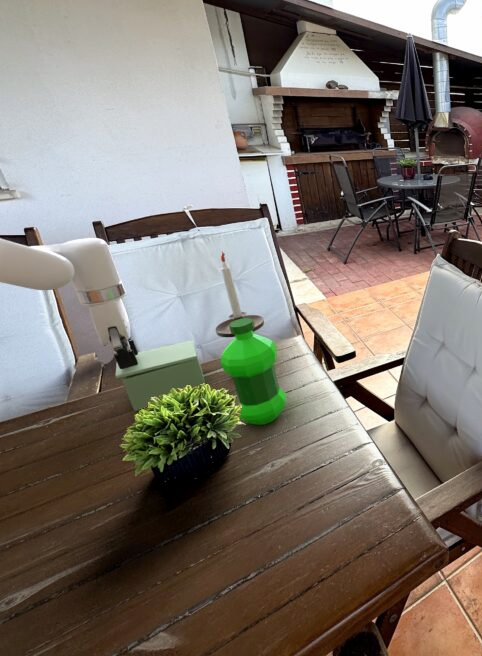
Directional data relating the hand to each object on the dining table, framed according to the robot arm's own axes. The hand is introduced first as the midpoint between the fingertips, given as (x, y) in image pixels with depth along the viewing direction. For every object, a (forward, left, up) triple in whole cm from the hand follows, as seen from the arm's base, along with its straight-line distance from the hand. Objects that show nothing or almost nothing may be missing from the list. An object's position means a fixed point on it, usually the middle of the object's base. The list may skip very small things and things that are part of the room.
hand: (129, 360), depth 96 cm
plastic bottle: (+28, -22, -11) cm, 37 cm away
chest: (+5, +1, -11) cm, 12 cm away
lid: (+5, +1, -2) cm, 5 cm away
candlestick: (+23, +2, -11) cm, 26 cm away
